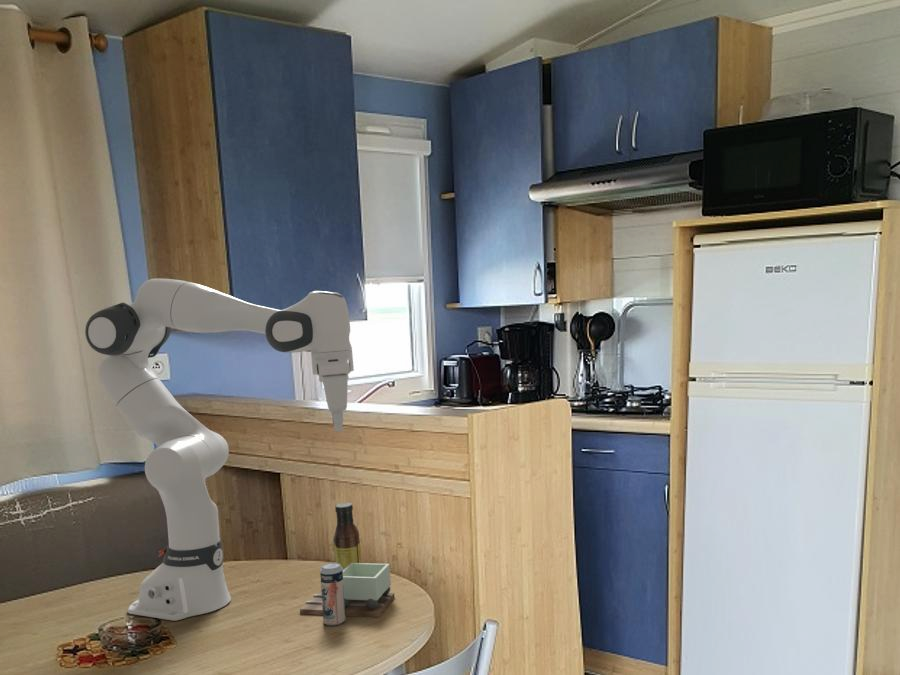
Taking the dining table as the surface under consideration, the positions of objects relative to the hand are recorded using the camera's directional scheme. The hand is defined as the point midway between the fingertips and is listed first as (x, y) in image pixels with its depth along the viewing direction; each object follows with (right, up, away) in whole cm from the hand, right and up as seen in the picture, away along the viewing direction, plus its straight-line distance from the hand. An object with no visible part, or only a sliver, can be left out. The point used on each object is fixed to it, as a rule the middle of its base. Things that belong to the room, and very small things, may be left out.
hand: (338, 428), depth 160 cm
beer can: (0, -40, -5) cm, 41 cm away
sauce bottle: (+1, -40, +15) cm, 43 cm away
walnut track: (+2, -40, +3) cm, 40 cm away
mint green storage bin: (+6, -39, +3) cm, 39 cm away
